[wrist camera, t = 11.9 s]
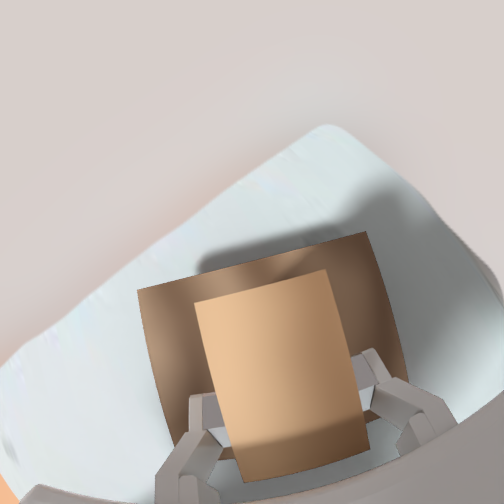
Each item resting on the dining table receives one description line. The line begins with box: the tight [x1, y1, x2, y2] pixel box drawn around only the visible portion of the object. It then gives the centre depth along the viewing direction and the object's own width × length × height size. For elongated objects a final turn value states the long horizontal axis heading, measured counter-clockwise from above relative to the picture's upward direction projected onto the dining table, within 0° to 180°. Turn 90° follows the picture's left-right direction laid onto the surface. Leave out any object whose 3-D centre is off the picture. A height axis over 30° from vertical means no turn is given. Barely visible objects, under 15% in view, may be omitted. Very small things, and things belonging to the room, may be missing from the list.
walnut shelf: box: [137, 231, 409, 460], centre depth 21 cm, size 18×14×6 cm
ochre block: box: [194, 269, 370, 483], centre depth 12 cm, size 4×6×10 cm, turn 14°
